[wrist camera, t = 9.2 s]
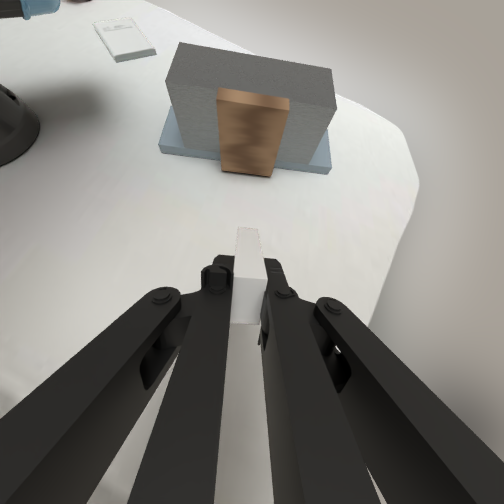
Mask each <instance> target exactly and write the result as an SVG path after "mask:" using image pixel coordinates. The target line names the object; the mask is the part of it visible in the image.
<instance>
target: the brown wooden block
mask: <svg viewBox="0 0 504 504" xmlns="http://www.w3.org/2000/svg"><path fill="white" fill-rule="evenodd" d="M216 104H217V117H218V130H219V143H220V156H221V168H222V170H223V171H231V172H239V173H247V174H255V175H263V176H271V175H272V171H273V168H274V164H275V161H276V157H277V153H278V150H279V146H280V143H281V139H282V135H283V132H284V128H285V125H286V121H287V117H288V114H289V99H288V98H282V97H276V96H269V95H263V94H257V93H251V92H245V91H238V90H232V89H226V88H220V87H218V92H217V97H216Z"/></svg>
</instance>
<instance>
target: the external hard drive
mask: <svg viewBox="0 0 504 504" xmlns="http://www.w3.org/2000/svg"><path fill="white" fill-rule="evenodd" d="M93 26H94V28H95V30H96V31H97V33H98V35H99V36H100V38H101V39H102V41H103V43H104V44H105V46H106V47H107V49H108V50H109V52H110V53H111V55H112V57H113V58H114V60H115V61H116V63H118V62H123V61H128V60H133V59H138V58H143V57H148V56H153V55H157V54H156V51H155V48H154V47H153V46H152V44H151V43H150V42H149V40H148V39H147V38H146V36H145V35H144V34H143V32H142V31H141V30H140V29H139V27H138V26H137V25H136V23H135V22H134V21H133V19H132V18H130V17H128V18H121V19H115V20H107V21H100V22H94V23H93Z"/></svg>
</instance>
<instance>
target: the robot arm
mask: <svg viewBox="0 0 504 504" xmlns="http://www.w3.org/2000/svg"><path fill="white" fill-rule="evenodd" d="M59 6H60V0H0V19H2V18H14V17H23V19H25V20H29V19H30V18H31V16H36V15H43V14H50V13H55V12H56V11H57V10H58V9H59ZM38 132H39V121H38V118H37V116H36V114H35V113H34V112H33V111H32V110H31V109H30V108H29V107H28V106H27V105H26V104H25V103H24V102H23V101H22V100H21V99H20V98H19V97H18V96H17V95H16V94H14V93H13V92H11V91H10V90H8V89H7V88H5V87H4V86H3V85H1V84H0V165H3V164H5V163H7V162H9V161H11V160H13V159H14V158H16V157H18V156H19V155H20V154H22V153H23V152H24V151H26V150H27V149H28V148H29V147H30V146H31V144H32V143H33V142H34V140H35V139H36V137H37V135H38ZM260 318H261V329H260V334H259V340H258V345H260V342H261V354H262V366H263V378H264V389H265V401H266V413H267V425H268V436H269V448H270V460H271V472H272V483H273V495H274V504H381V503H380V500H379V497H378V495H377V492H376V490H375V487H374V485H373V482H372V480H371V477H370V475H369V472H368V470H369V471H370V473H371V475H372V477H373V479H374V480H375V482H376V484H377V486H378V488H379V489H380V491H381V493H382V495H383V497H384V499H385V501H386V502H387V504H504V463H503V461H502V460H501V459H500V458H499V457H498V456H497V455H496V454H495V453H494V452H493V451H492V450H491V449H490V448H489V447H488V446H487V445H486V444H485V443H484V442H483V441H482V440H481V439H479V437H478V436H476V434H474V432H473V431H472V430H471V429H469V428H468V427H467V426H466V425H465V424H464V423H463V422H462V421H461V420H460V419H459V418H458V417H457V416H456V415H455V414H454V413H453V412H452V411H451V410H450V409H449V408H448V407H447V406H446V405H445V404H444V403H443V402H442V401H441V400H440V399H439V398H438V397H437V396H436V395H435V394H434V393H433V392H432V391H431V390H430V389H429V388H428V387H427V386H426V385H425V384H424V383H423V382H422V381H421V380H420V379H419V378H418V377H417V376H416V375H415V374H414V373H413V372H412V371H411V370H410V369H409V368H408V367H407V366H406V365H405V364H404V363H403V362H402V361H401V360H400V359H399V358H398V357H397V356H396V355H395V354H394V353H393V352H392V351H391V350H390V349H389V348H388V347H387V346H386V345H385V344H384V343H383V342H382V341H381V340H380V339H379V338H378V337H377V336H376V335H375V334H374V333H373V332H371V330H370V329H369V328H368V327H367V326H366V325H365V324H364V323H363V322H362V321H361V320H360V319H359V318H358V317H357V316H356V315H355V314H354V313H353V312H352V311H351V310H349V309H348V308H347V307H346V306H345V305H344V304H343V303H342V302H340V301H338V300H336V299H333V298H330V297H322V298H319V299H318V300H317V302H316V304H315V303H312V302H308V301H305V300H302V299H300V298H299V297H298V294H297V293H296V291H295V290H293V289H292V288H291V287H289V286H288V283H287V280H286V278H285V275H284V272H283V269H282V266H281V264H280V263H279V262H278V261H277V260H276V259H270V258H263V253H262V248H261V243H260V238H259V233H258V229H252V228H242V227H238V232H237V242H236V252H235V256H228V255H218V256H217V257H215V258H214V261H213V264H212V265H209V266H207V267H205V268H203V270H202V271H201V290H199V291H197V292H194V293H190V294H183V295H180V292H179V291H178V289H175V288H173V287H160V288H157V289H154V290H152V291H150V292H148V293H147V294H146V295H144V296H143V297H142V298H141V299H140V300H139V301H137V302H136V303H135V304H134V305H133V306H132V307H130V308H129V309H128V310H127V311H126V312H125V313H123V314H122V315H121V316H120V317H119V318H118V319H116V320H115V321H114V322H113V323H112V324H111V325H109V326H108V327H107V328H106V329H105V330H104V331H102V332H101V333H100V334H99V335H98V336H97V337H95V338H94V339H93V340H92V341H91V342H90V343H88V344H87V345H86V346H85V347H84V348H83V349H81V350H80V351H79V352H78V353H77V354H76V355H74V356H73V357H72V358H71V359H70V360H69V361H67V362H66V363H65V364H64V365H63V366H62V367H60V368H59V369H58V370H57V371H56V372H55V373H53V374H52V375H51V376H50V377H49V378H48V379H46V380H45V381H44V382H43V383H42V384H41V385H39V386H38V387H37V388H36V389H35V390H34V391H32V392H31V393H30V394H29V395H28V396H27V397H25V398H24V399H23V400H22V401H21V402H20V403H18V404H17V405H16V406H15V407H14V408H13V409H11V410H10V411H9V412H8V413H7V414H6V415H4V416H3V417H2V418H1V419H0V504H86V503H87V501H88V500H89V498H90V497H91V495H92V493H93V492H94V490H95V488H96V487H97V485H98V484H99V482H100V480H101V479H102V477H103V475H104V474H105V472H106V471H107V469H108V467H109V466H110V464H111V462H112V461H113V459H114V458H115V456H116V454H117V453H118V451H119V449H120V448H121V446H122V444H123V443H124V441H125V440H126V438H127V436H128V435H129V433H130V431H131V430H132V428H133V427H134V425H135V423H136V422H137V420H138V418H139V417H140V415H141V414H142V412H143V410H144V409H145V407H146V405H147V404H148V402H149V401H150V399H151V397H152V396H153V394H154V392H155V391H156V389H157V388H158V386H159V384H160V383H161V381H162V379H163V378H164V376H165V375H166V373H167V371H168V370H169V368H170V366H171V365H172V363H173V362H174V360H175V358H176V357H177V355H178V357H177V360H176V363H175V366H174V369H173V372H172V375H171V377H170V380H169V383H168V386H167V389H166V392H165V395H164V398H163V401H162V404H161V407H160V409H159V412H158V415H157V418H156V421H155V424H154V427H153V430H152V433H151V436H150V439H149V441H148V444H147V447H146V450H145V453H144V456H143V459H142V462H141V465H140V468H139V471H138V473H137V476H136V479H135V482H134V485H133V488H132V491H131V494H130V497H129V500H128V502H127V504H214V494H215V483H216V472H217V461H218V449H219V438H220V427H221V416H222V405H223V394H224V383H225V371H226V360H227V349H228V338H229V327H230V323H239V324H258V325H259V323H260ZM335 346H337V347H338V349H339V350H340V351H341V353H340V352H339V351H338V350H337V349H336V347H335ZM178 353H179V354H178ZM365 464H366V465H365ZM366 466H367V467H366ZM367 468H368V470H367Z"/></svg>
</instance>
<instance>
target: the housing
mask: <svg viewBox="0 0 504 504" xmlns="http://www.w3.org/2000/svg"><path fill="white" fill-rule="evenodd" d="M165 82H166V86H167V89H168V93H169V96H170V100H171V103H172V106H171V107H170V110H169V113H168V116H167V119H166V122H165V125H164V128H163V131H162V134H161V137H160V140H159V144H158V145H159V148H160V150H161V152H162V153H167V154H175V155H182V156H190V157H198V158H205V159H213V160H221V156H220V143H219V130H218V117H217V104H216V97H217V92H218V87H220V88H226V89H232V90H238V91H245V92H251V93H257V94H263V95H269V96H276V97H282V98H288V99H289V114H288V117H287V121H286V125H285V128H284V132H283V135H282V139H281V143H280V146H279V150H278V153H277V157H276V161H275V164H274V168H282V169H290V170H297V171H305V172H313V173H320V174H328V173H329V171H330V170H331V168H332V164H331V156H330V147H329V138H328V129H327V127H328V125H329V123H330V121H331V119H332V117H333V115H334V113H335V112H336V110H337V106H336V99H335V92H334V85H333V79H332V71H331V69H328V68H323V67H317V66H311V65H306V64H300V63H295V62H289V61H283V60H277V59H272V58H266V57H261V56H255V55H249V54H244V53H238V52H232V51H227V50H221V49H215V48H210V47H204V46H199V45H193V44H187V43H182V42H179V45H178V48H177V50H176V53H175V56H174V58H173V61H172V64H171V67H170V69H169V72H168V75H167V78H166V80H165Z"/></svg>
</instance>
